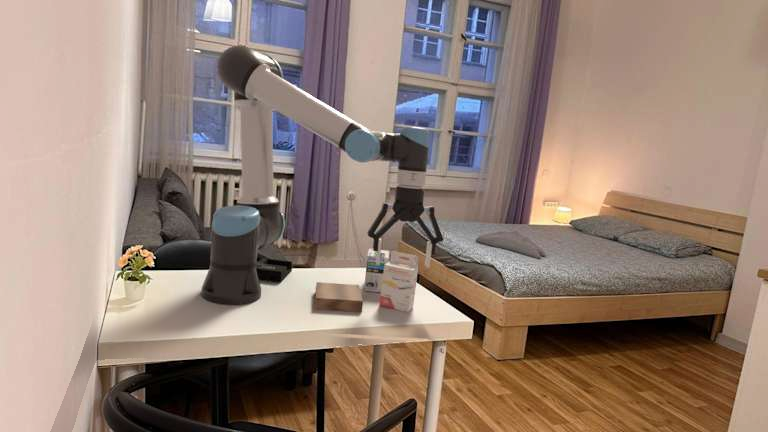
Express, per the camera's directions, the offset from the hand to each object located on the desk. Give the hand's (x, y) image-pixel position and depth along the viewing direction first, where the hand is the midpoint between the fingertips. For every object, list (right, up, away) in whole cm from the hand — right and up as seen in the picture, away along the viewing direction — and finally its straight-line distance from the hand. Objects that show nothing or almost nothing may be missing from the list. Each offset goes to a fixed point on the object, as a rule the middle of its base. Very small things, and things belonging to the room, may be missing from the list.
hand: (402, 264), depth 141 cm
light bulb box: (-8, -9, +18) cm, 21 cm away
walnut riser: (-17, -10, +1) cm, 20 cm away
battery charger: (-39, -6, +18) cm, 44 cm away
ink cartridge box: (-2, -12, +2) cm, 12 cm away
